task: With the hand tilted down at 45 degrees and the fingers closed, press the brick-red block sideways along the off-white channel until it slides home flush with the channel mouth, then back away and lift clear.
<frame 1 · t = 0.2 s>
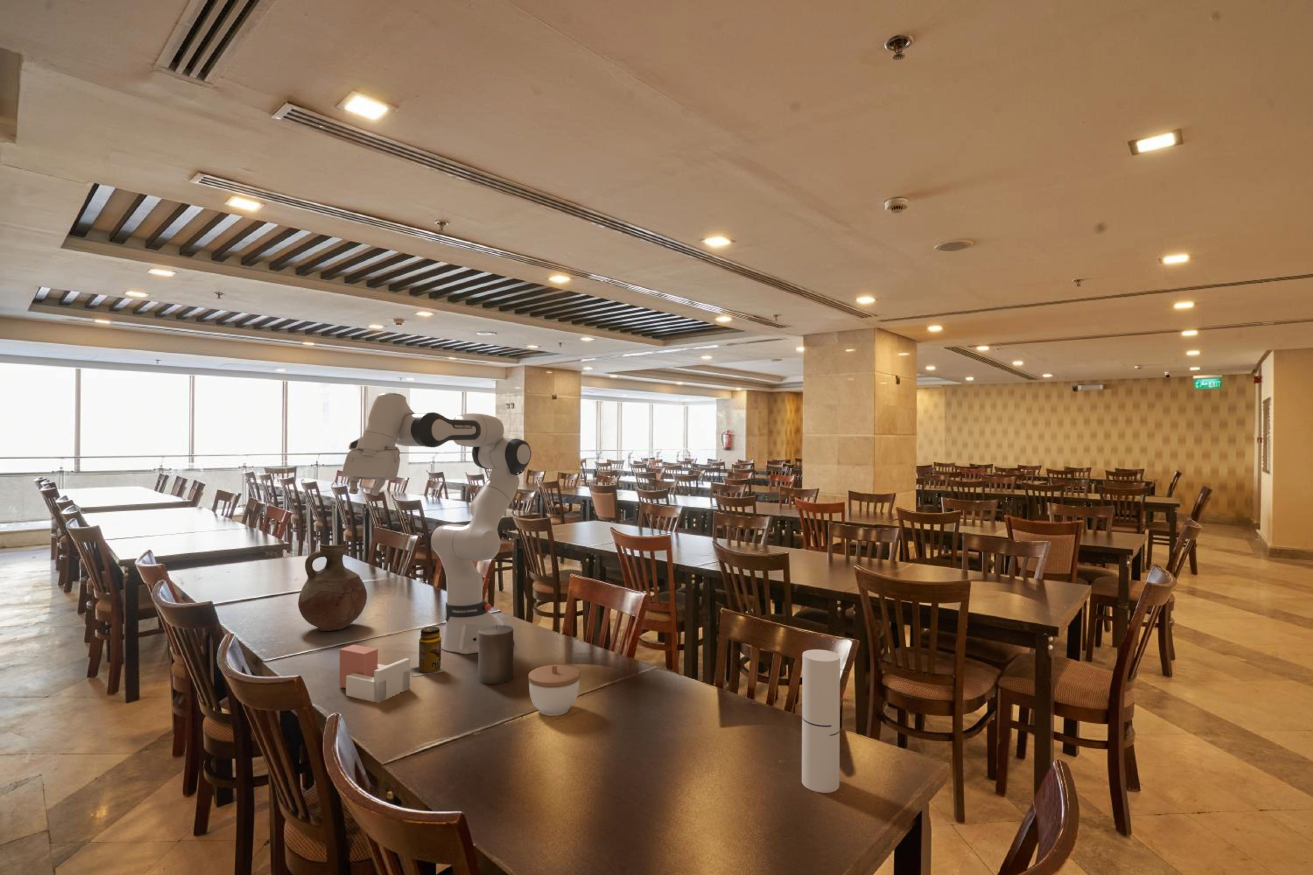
hand: (363, 494, 181), 52 cm above the table, tool tilted 20°, fingers open, 8 cm apart
dock: (377, 691, 174), on the table
white lidded jar: (554, 710, 163), on the table
plug: (358, 667, 177), point 5 cm above the table, slide at 0.0 cm
jug: (332, 629, 232), on the table
pillar candle: (495, 678, 185), on the table
condiment: (426, 671, 191), on the table
cylindrical container: (820, 783, 129), on the table
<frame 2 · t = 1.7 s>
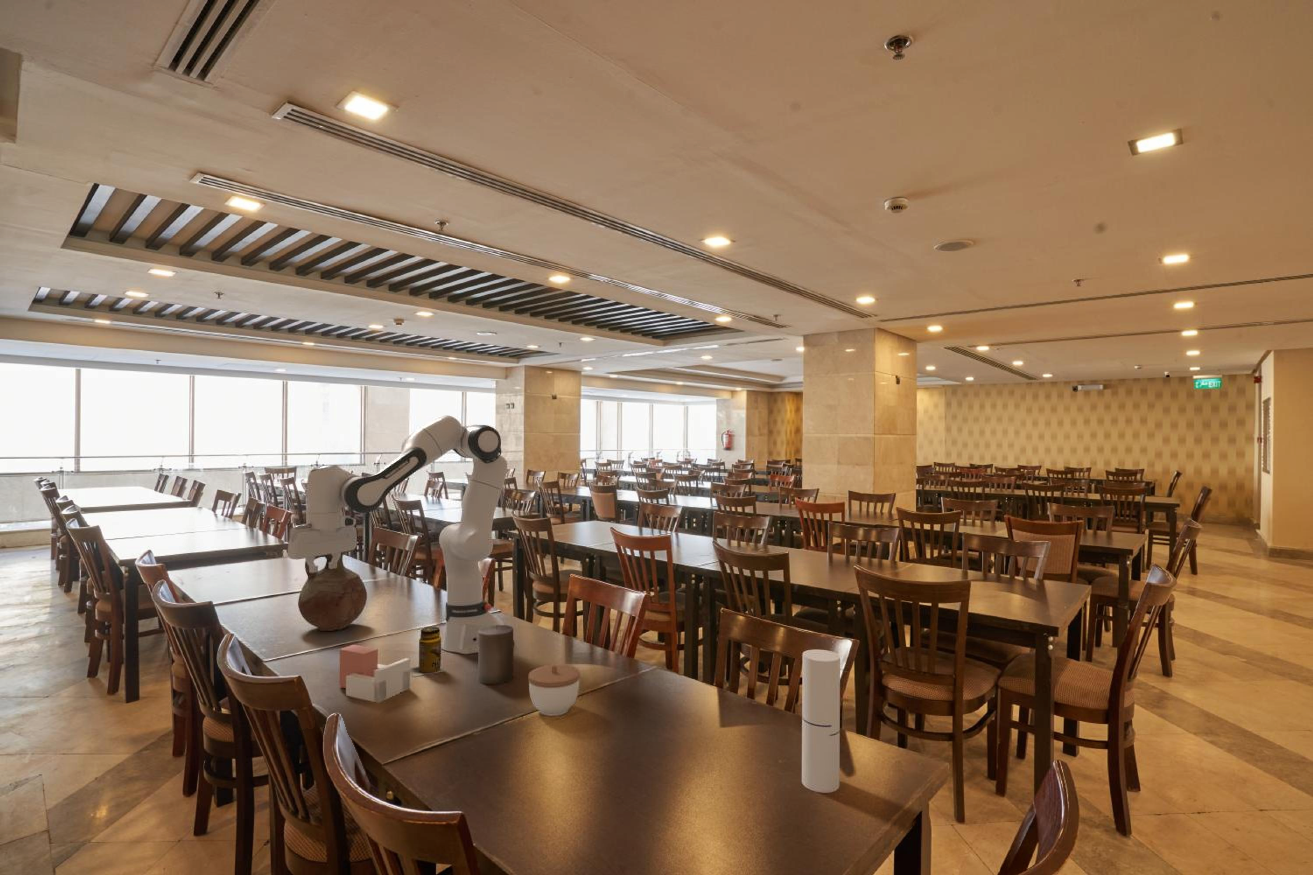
hand: (323, 570, 189), 29 cm above the table, tool pointing down, fingers open, 5 cm apart
nothing on the table moved.
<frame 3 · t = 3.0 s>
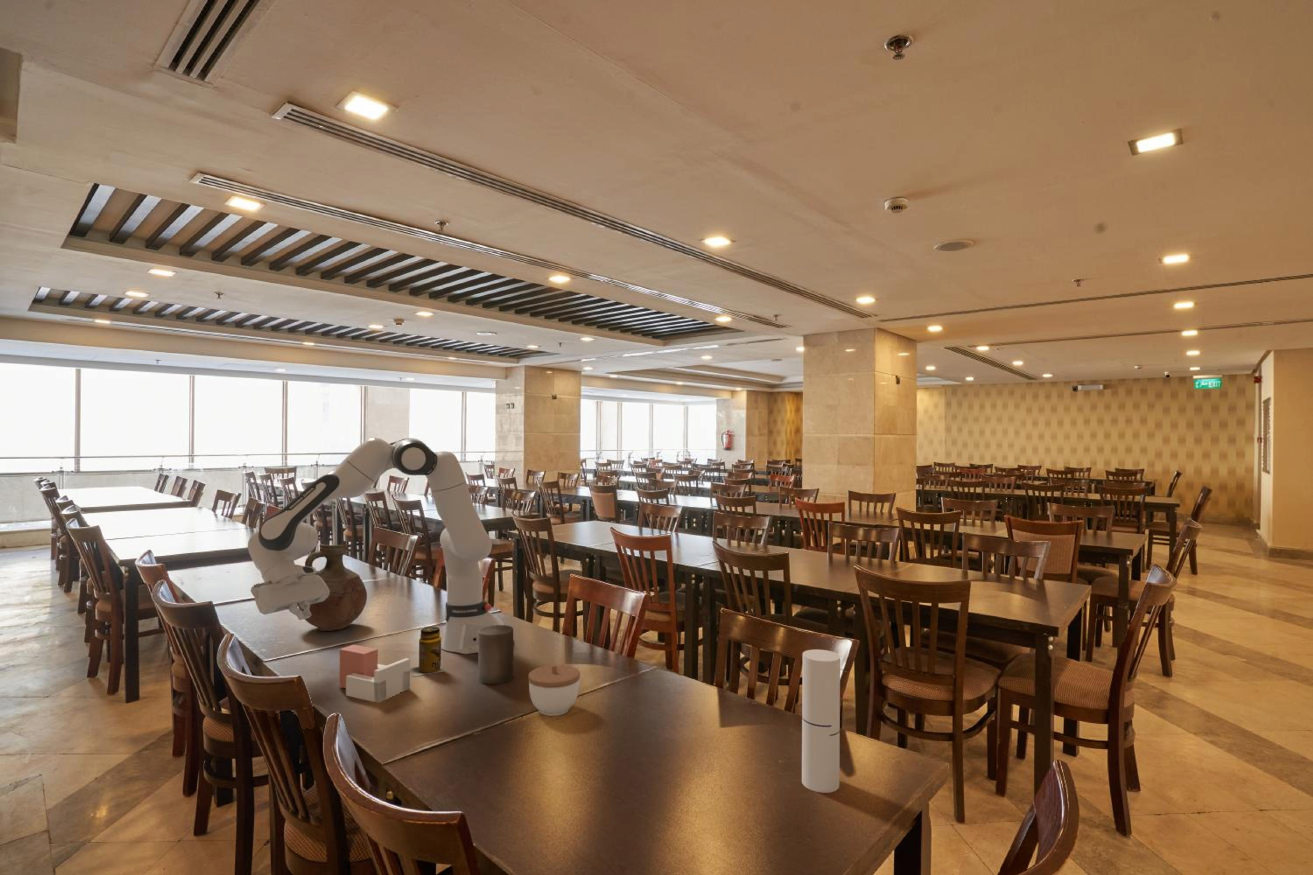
hand: (305, 617, 185), 16 cm above the table, tool tilted 45°, fingers closed
nothing on the table moved.
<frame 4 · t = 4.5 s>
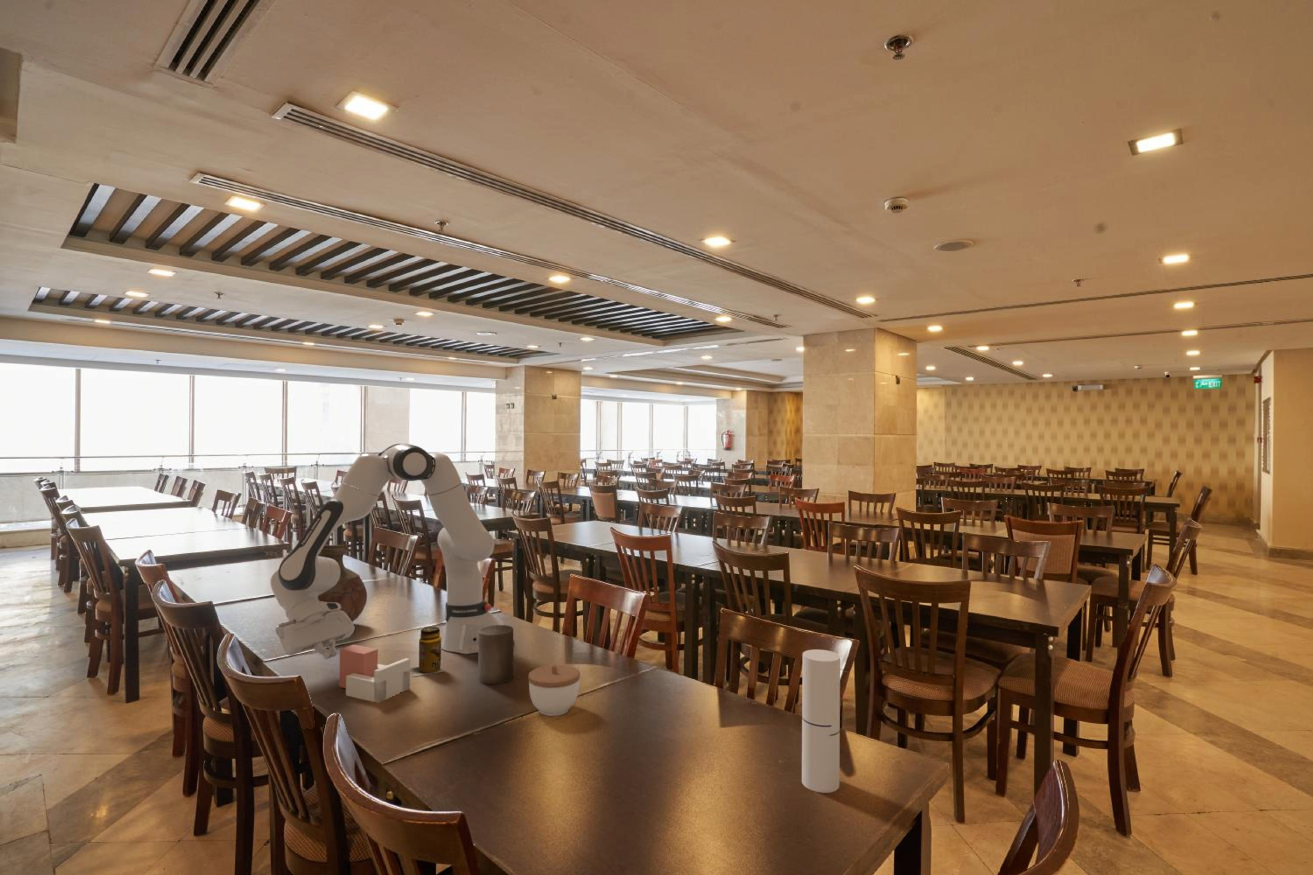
hand: (331, 656, 181), 7 cm above the table, tool tilted 45°, fingers closed
nothing on the table moved.
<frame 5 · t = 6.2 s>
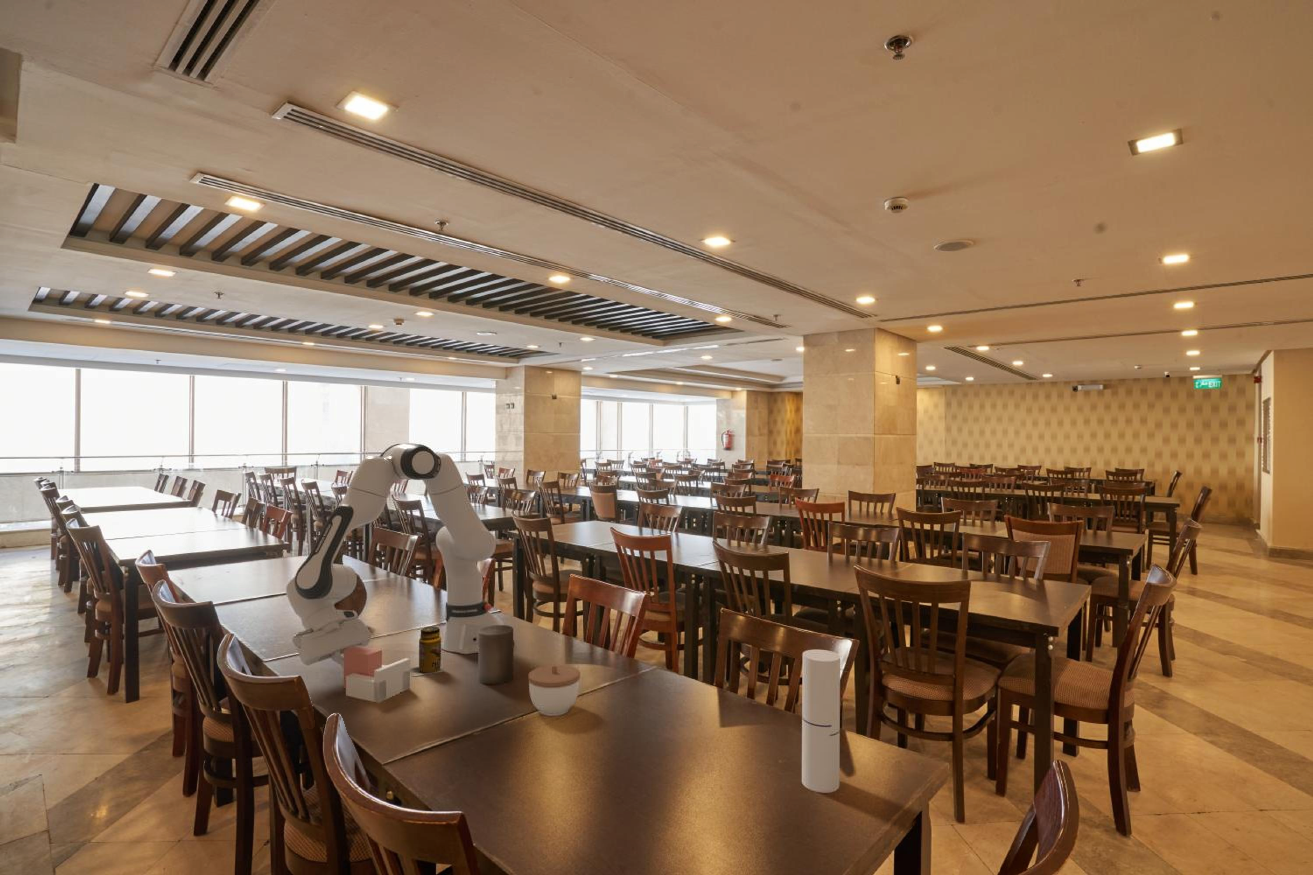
hand: (349, 665, 179), 5 cm above the table, tool tilted 45°, fingers closed, pressing on plug
plug: (362, 668, 177), point 5 cm above the table, slide at 1.5 cm, touching gripper
everything else where it was.
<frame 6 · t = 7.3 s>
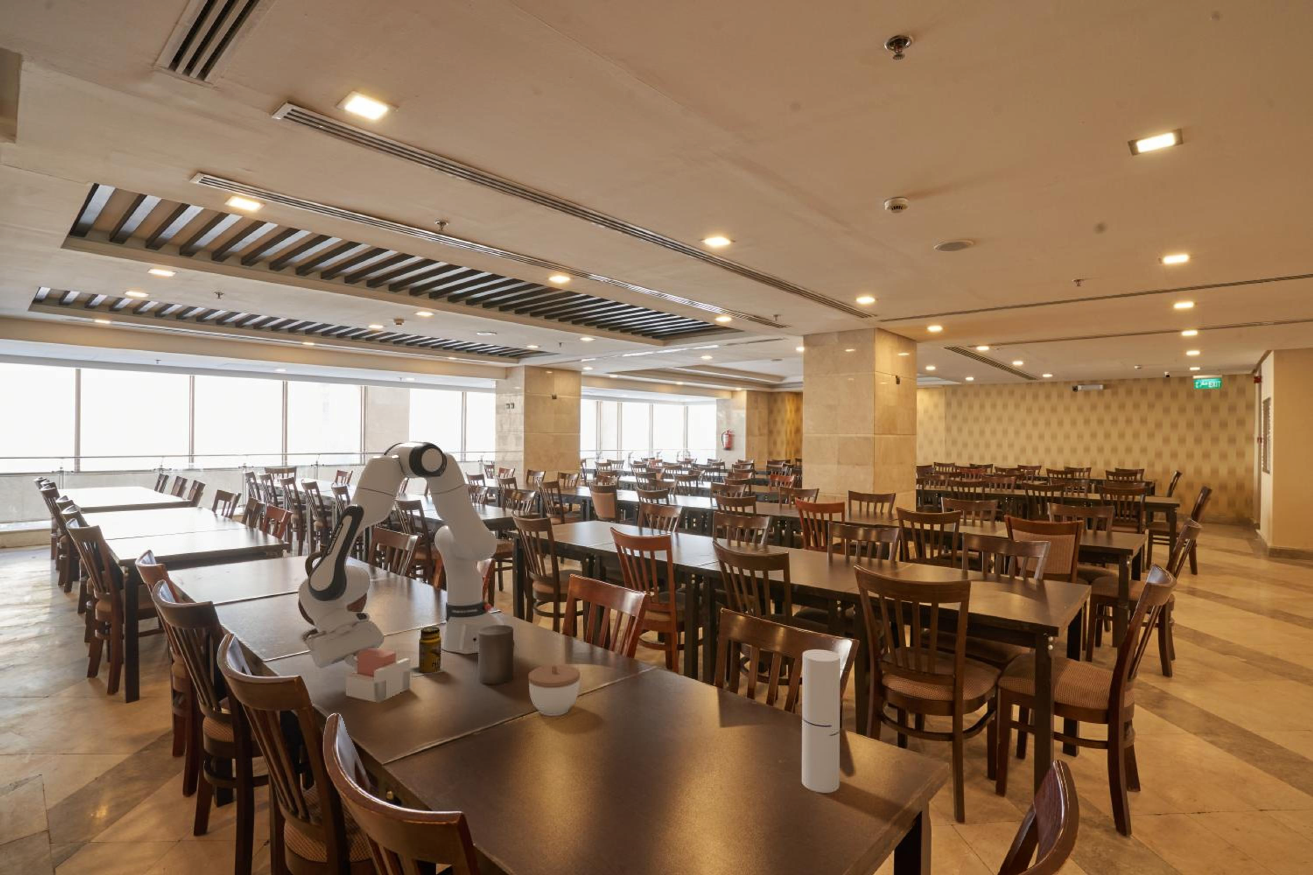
hand: (362, 668, 177), 5 cm above the table, tool tilted 45°, fingers closed, pressing on plug
plug: (376, 671, 174), point 5 cm above the table, slide at 6.5 cm, touching gripper
everything else where it was.
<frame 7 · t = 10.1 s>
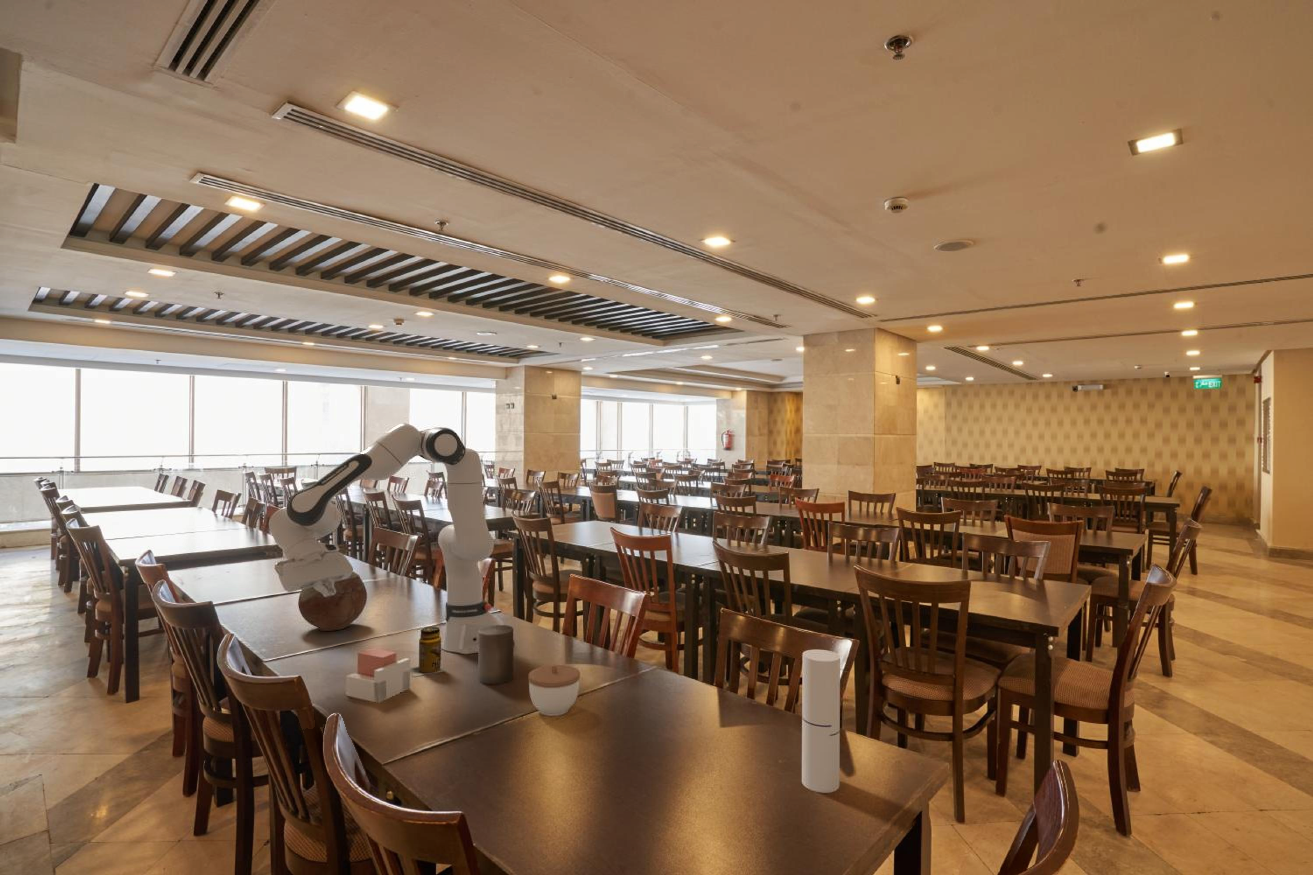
hand: (330, 594, 183), 23 cm above the table, tool tilted 45°, fingers closed
plug: (376, 671, 174), point 5 cm above the table, slide at 6.7 cm
everything else where it was.
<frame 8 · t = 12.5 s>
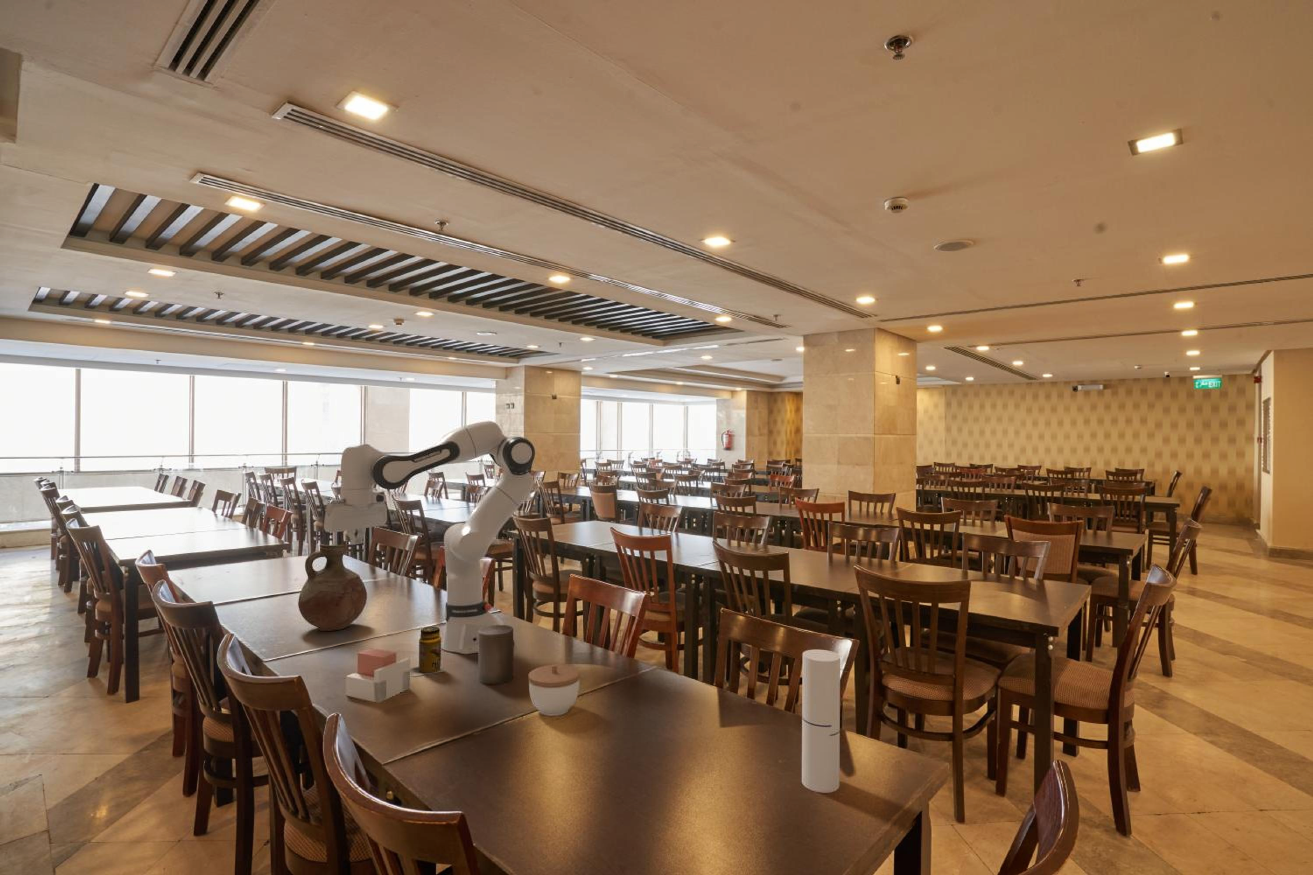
hand: (356, 543, 199), 35 cm above the table, tool pointing down, fingers closed
nothing on the table moved.
at the end: plug slide at 6.7 cm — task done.
